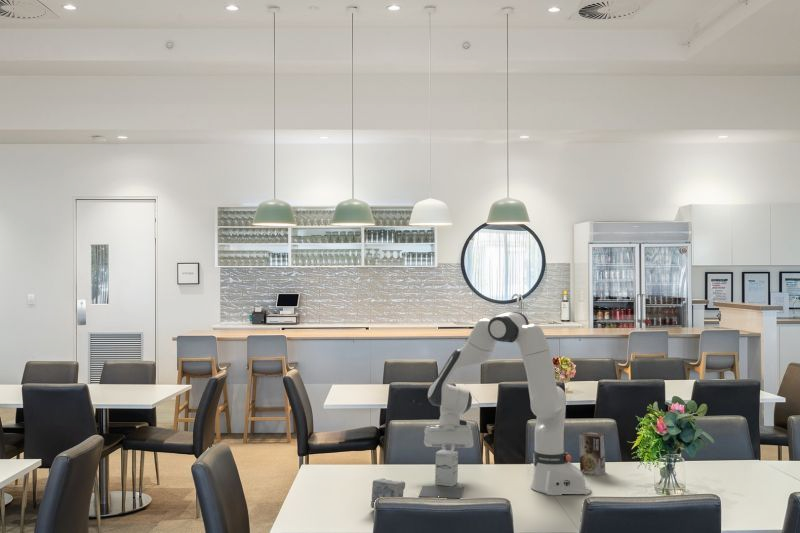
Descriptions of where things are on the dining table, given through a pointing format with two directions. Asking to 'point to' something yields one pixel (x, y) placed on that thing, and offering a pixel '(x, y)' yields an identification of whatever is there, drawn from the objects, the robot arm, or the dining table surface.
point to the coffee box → (592, 453)
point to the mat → (441, 492)
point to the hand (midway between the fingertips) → (447, 455)
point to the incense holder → (386, 489)
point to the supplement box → (446, 468)
